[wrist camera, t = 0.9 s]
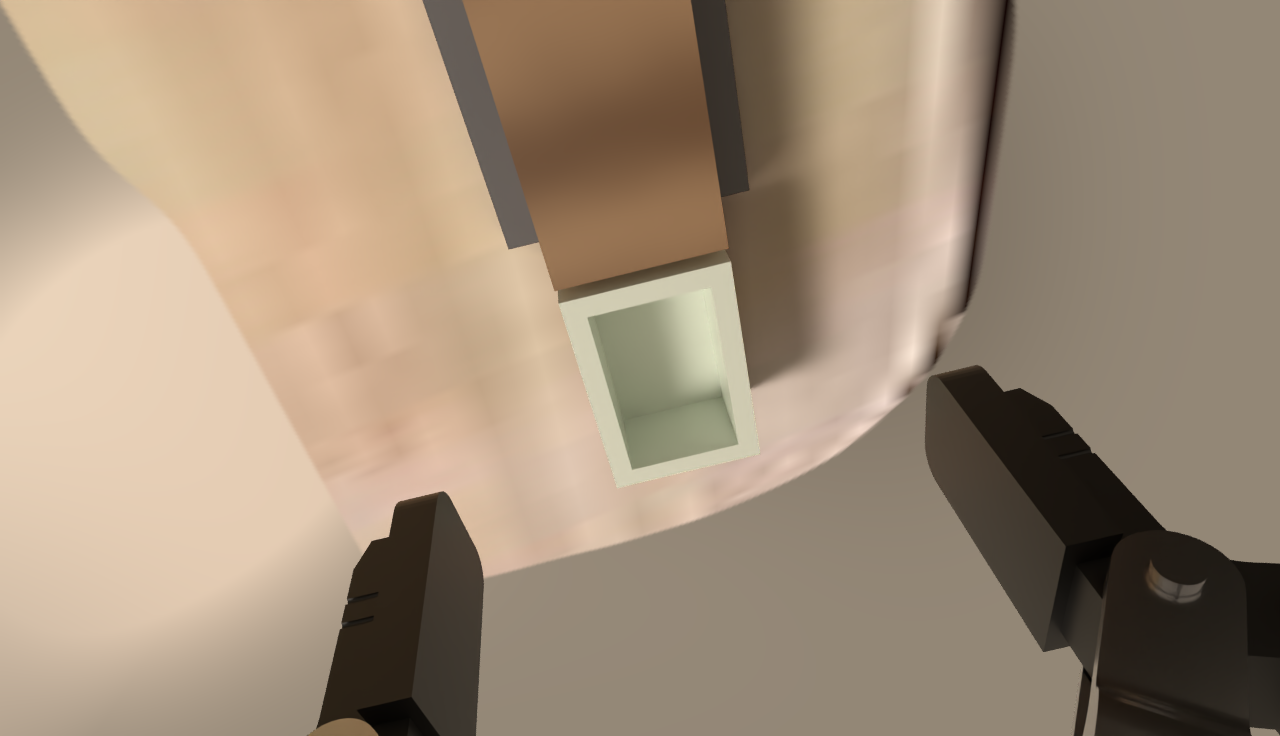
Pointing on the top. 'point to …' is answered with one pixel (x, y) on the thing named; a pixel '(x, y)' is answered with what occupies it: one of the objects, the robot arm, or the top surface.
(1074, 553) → the robot arm
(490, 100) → the mat
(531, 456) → the top surface
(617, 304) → the dish
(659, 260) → the lid
